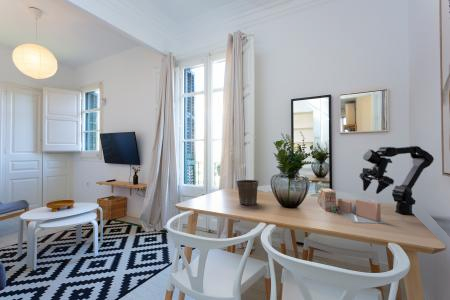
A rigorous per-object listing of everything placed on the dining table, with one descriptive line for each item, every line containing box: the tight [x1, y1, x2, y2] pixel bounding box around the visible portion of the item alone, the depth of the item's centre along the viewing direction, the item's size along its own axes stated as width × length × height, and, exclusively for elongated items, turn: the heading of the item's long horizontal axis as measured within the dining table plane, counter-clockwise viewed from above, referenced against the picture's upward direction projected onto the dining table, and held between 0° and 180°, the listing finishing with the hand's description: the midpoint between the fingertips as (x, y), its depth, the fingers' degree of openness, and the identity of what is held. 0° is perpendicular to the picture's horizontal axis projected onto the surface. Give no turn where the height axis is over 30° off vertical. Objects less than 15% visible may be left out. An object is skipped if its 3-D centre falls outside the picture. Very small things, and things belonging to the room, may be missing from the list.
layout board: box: [336, 208, 387, 224], centre depth 124 cm, size 15×25×1 cm, turn 173°
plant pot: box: [236, 179, 260, 206], centre depth 157 cm, size 16×16×16 cm
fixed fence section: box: [337, 198, 353, 213], centre depth 133 cm, size 9×2×7 cm, turn 18°
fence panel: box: [352, 199, 382, 222], centre depth 120 cm, size 16×3×9 cm, turn 18°
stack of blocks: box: [316, 187, 337, 212], centre depth 144 cm, size 21×6×12 cm, turn 169°
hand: (370, 192), depth 125 cm, fingers open, 9 cm apart
